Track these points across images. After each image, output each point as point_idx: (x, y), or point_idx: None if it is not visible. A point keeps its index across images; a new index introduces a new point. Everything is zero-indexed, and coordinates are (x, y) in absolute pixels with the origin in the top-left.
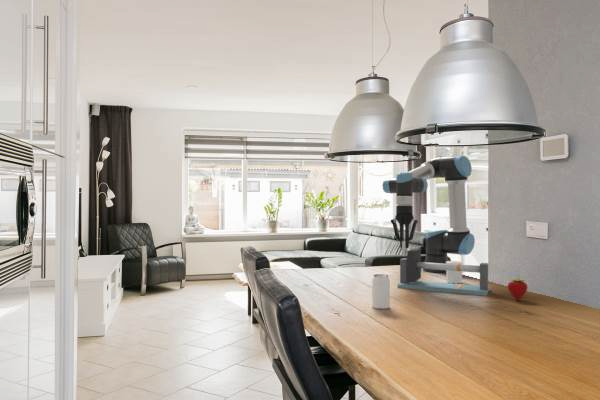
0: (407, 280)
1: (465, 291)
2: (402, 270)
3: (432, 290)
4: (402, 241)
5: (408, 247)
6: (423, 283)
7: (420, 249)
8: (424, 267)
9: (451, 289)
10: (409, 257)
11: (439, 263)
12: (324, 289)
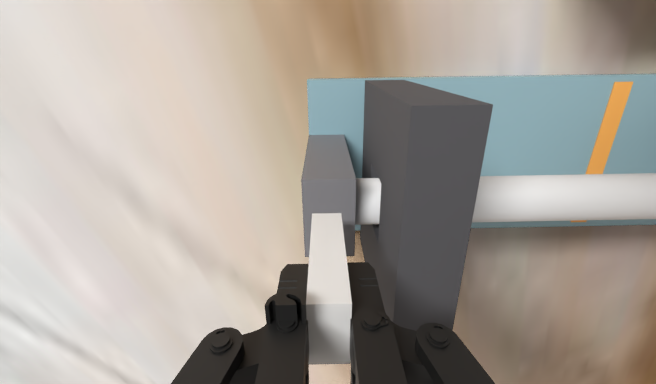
0: (361, 241)
1: (609, 223)
2: None
3: None
4: (313, 363)
5: (370, 267)
6: None
7: (485, 125)
8: None
9: (553, 225)
10: None
11: (588, 212)
12: (93, 366)
